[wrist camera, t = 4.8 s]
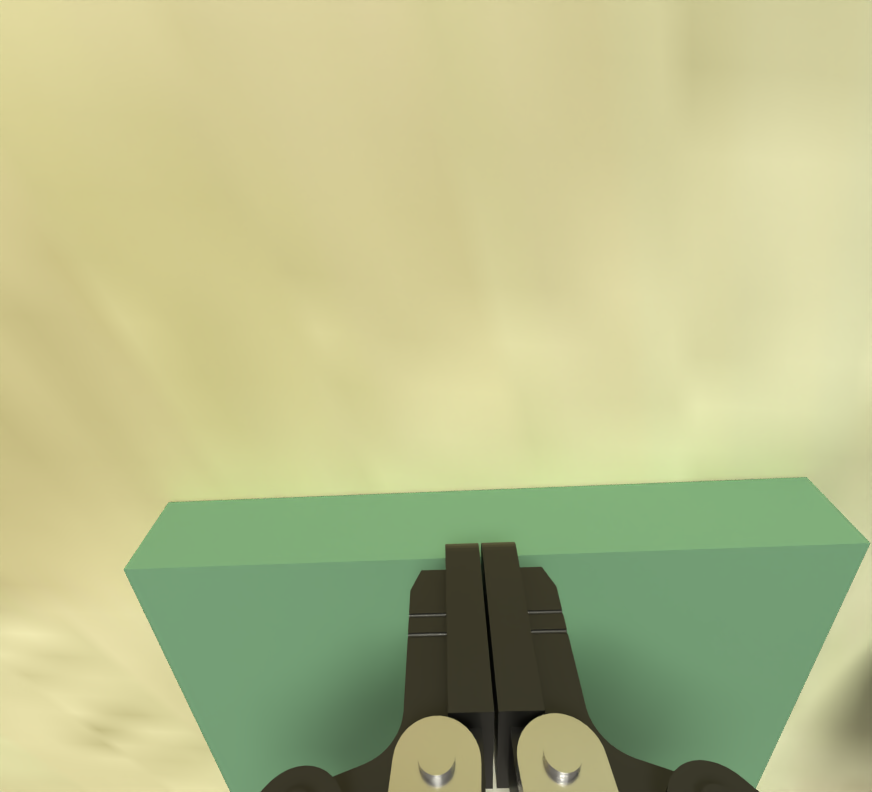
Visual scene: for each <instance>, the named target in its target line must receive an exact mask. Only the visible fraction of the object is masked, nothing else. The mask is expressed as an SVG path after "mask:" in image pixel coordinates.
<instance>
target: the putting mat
mask: <svg viewBox="0 0 872 792" xmlns="http://www.w3.org/2000/svg"><path fill="white" fill-rule="evenodd" d="M490 542H515V544H516V548H517V554H518V559H519V565H520V567H542V568H543V569H544V570H545V572H546V573H547V574H548V576H549V577H550V578H551V580H552V581H553V582H554V584H555V585H556V586H557V590H558V594H559V599H560V603H561V607H562V614H563V615H564V619H565V623H566V627H567V634H568V635H569V640H570V644H571V648H572V652H573V656H574V660H575V664H576V668H577V672H578V676H579V680H580V685H581V689H582V693H583V697H584V701H585V705H586V708H587V712H588V715H589V717H590V719H591V721H592V723H593V724H594V726H595V727H596V729H597V730H598V732H599V733H600V734H601V735H602V736H603V737H604V738H605V739H606V740H607V741H608V742H609V743H610V744H611V745H612V746H614V747H615V748H617V749H618V750H620V751H621V752H623V753H625V754H627V755H629V756H631V757H634V758H636V759H639V760H642V761H645V762H648V763H651V764H654V765H657V766H660V767H663V768H666V769H669V770H672V771H675V770H676V769H677V768H678V767H679V766H680V765H682V764H684V763H686V762H689V761H693V760H706V761H711V762H715V763H718V764H721V765H723V766H725V767H727V768H729V769H731V770H732V771H734V772H736V773H737V774H738V775H740V776H741V777H742V778H743V779H745V780H746V781H747V782H748V783H749V784H751V785H752V786H753V787H754V788H755V789H756V787H757V785H758V783H759V780H760V778H761V776H762V774H763V772H764V770H765V768H766V765H767V763H768V761H769V759H770V757H771V755H772V753H773V750H774V748H775V746H776V744H777V742H778V740H779V738H780V735H781V733H782V731H783V729H784V727H785V725H786V723H787V720H788V718H789V716H790V714H791V712H792V710H793V708H794V705H795V703H796V701H797V699H798V697H799V695H800V693H801V690H802V688H803V686H804V684H805V682H806V680H807V678H808V676H809V673H810V671H811V669H812V667H813V665H814V663H815V661H816V658H817V656H818V654H819V652H820V650H821V648H822V646H823V643H824V641H825V639H826V637H827V635H828V633H829V631H830V628H831V626H832V624H833V622H834V620H835V618H836V616H837V613H838V611H839V609H840V607H841V605H842V603H843V601H844V598H845V596H846V594H847V592H848V590H849V588H850V586H851V583H852V581H853V579H854V577H855V575H856V573H857V571H858V568H859V566H860V564H861V562H862V560H863V558H864V556H865V554H866V551H867V549H868V547H869V545H870V542H869V541H868V540H867V539H866V538H865V537H864V536H863V535H862V534H861V533H860V532H859V531H858V530H857V529H856V528H855V527H854V526H853V525H852V524H851V523H850V522H849V521H848V520H847V519H846V518H845V517H844V515H843V514H842V513H841V512H840V511H839V510H838V509H837V508H836V507H835V506H834V505H833V504H832V503H831V502H830V501H829V500H828V499H827V498H826V497H825V496H824V495H823V494H822V493H821V492H820V491H819V490H818V489H817V488H816V487H815V486H814V485H813V484H812V482H811V481H810V480H809V479H808V478H807V477H801V478H776V479H751V480H725V481H700V482H674V483H649V484H624V485H598V486H573V487H547V488H522V489H496V490H471V491H446V492H420V493H395V494H369V495H344V496H319V497H293V498H268V499H242V500H217V501H192V502H169V503H168V504H167V506H166V507H165V509H164V510H163V512H162V513H161V515H160V516H159V518H158V519H157V521H156V522H155V524H154V525H153V527H152V528H151V530H150V531H149V533H148V534H147V536H146V537H145V538H144V540H143V541H142V543H141V544H140V546H139V547H138V549H137V550H136V552H135V553H134V555H133V556H132V558H131V559H130V561H129V562H128V564H127V565H126V567H125V568H124V571H125V573H126V575H127V578H128V580H129V582H130V584H131V586H132V588H133V590H134V592H135V594H136V596H137V598H138V600H139V603H140V605H141V607H142V609H143V611H144V613H145V615H146V617H147V619H148V621H149V623H150V625H151V628H152V630H153V632H154V634H155V636H156V638H157V640H158V642H159V644H160V646H161V648H162V650H163V653H164V655H165V657H166V659H167V661H168V663H169V665H170V667H171V669H172V671H173V673H174V675H175V678H176V680H177V682H178V684H179V686H180V688H181V690H182V692H183V694H184V696H185V698H186V700H187V703H188V705H189V707H190V709H191V711H192V713H193V715H194V717H195V719H196V721H197V723H198V725H199V728H200V730H201V732H202V734H203V736H204V738H205V740H206V742H207V744H208V746H209V748H210V751H211V753H212V755H213V757H214V759H215V761H216V763H217V765H218V767H219V769H220V771H221V773H222V776H223V778H224V780H225V782H226V784H227V786H228V788H229V790H230V792H261V791H262V790H263V788H264V787H265V786H266V785H267V784H268V783H269V782H270V781H271V780H273V779H274V778H275V777H276V776H278V775H279V774H281V773H282V772H284V771H286V770H288V769H291V768H294V767H297V766H304V765H306V766H315V767H319V768H321V769H323V770H325V771H327V772H328V773H329V774H330V775H332V777H333V776H335V775H338V774H340V773H343V772H345V771H348V770H350V769H353V768H355V767H358V766H360V765H363V764H365V763H367V762H369V761H371V760H373V759H374V758H376V757H377V756H379V755H380V754H381V753H382V752H383V751H385V750H386V749H387V747H388V746H389V745H390V744H391V743H392V741H393V740H394V738H395V736H396V735H397V733H398V730H399V728H400V726H401V722H402V718H403V711H404V693H405V675H406V658H407V640H408V622H409V604H410V590H411V588H412V586H413V585H414V583H415V581H416V579H417V577H418V575H419V574H420V572H421V570H446V564H445V544H462V543H478V544H479V552H480V563H481V543H490Z"/></svg>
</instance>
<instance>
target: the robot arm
mask: <svg viewBox="0 0 872 792" xmlns="http://www.w3.org/2000/svg"><path fill="white" fill-rule="evenodd" d="M445 564H446V570H421V572H420V574H419V575H418V577H417V579H416V581H415V583H414V585H413V586H412V588H411V590H410V604H409V622H408V640H407V658H406V675H405V693H404V711H403V718H402V722H401V726H400V728H399V730H398V733H397V735H396V736H395V738H394V740H393V741H392V743H391V744H390V745H389V746H388V747H387V749H386V750H385V751H383V752H382V753H381V754H380V755H379V756H377V757H376V758H374V759H373V760H371V761H369V762H367V763H365V764H363V765H360V766H358V767H355V768H353V769H350V770H348V771H345V772H343V773H340V774H338V775H335V776H333V777H332V775H330V774H329V773H328V772H327V771H325V770H323V769H321V768H319V767H315V766H306V765H304V766H297V767H294V768H291V769H288V770H286V771H284V772H282V773H281V774H279V775H278V776H276V777H275V778H274V779H273V780H271V781H270V782H269V783H268V784H267V785H266V786H265V787H264V788H263V790H262V791H261V792H486V789H493V753H494V764H495V776H496V787H497V788H509V790H510V792H759V791H758V790H756V789H755V788H754V787H753V786H752V785H751V784H749V783H748V782H747V781H746V780H745V779H743V778H742V777H741V776H740V775H738V774H737V773H736V772H734V771H732V770H731V769H729V768H727V767H725V766H723V765H721V764H718V763H715V762H711V761H706V760H693V761H689V762H686V763H684V764H682V765H680V766H679V767H678V768H677V769H676V770H675V771H672V770H669V769H666V768H663V767H660V766H657V765H654V764H651V763H648V762H645V761H642V760H639V759H636V758H634V757H631V756H629V755H627V754H625V753H623V752H621V751H620V750H618V749H617V748H615V747H614V746H612V745H611V744H610V743H609V742H608V741H607V740H606V739H605V738H604V737H603V736H602V735H601V734H600V733H599V732H598V730H597V729H596V727H595V726H594V724H593V723H592V721H591V719H590V717H589V715H588V712H587V708H586V705H585V701H584V697H583V693H582V689H581V685H580V680H579V676H578V672H577V668H576V664H575V660H574V656H573V652H572V648H571V644H570V640H569V635H568V634H567V627H566V623H565V619H564V615H563V614H562V607H561V603H560V599H559V594H558V590H557V586H556V585H555V584H554V582H553V581H552V580H551V578H550V577H549V576H548V574H547V573H546V572H545V570H544V569H543V568H542V567H520V565H519V559H518V554H517V548H516V544H515V542H490V543H481V563H480V552H479V544H478V543H462V544H445Z"/></svg>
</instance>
